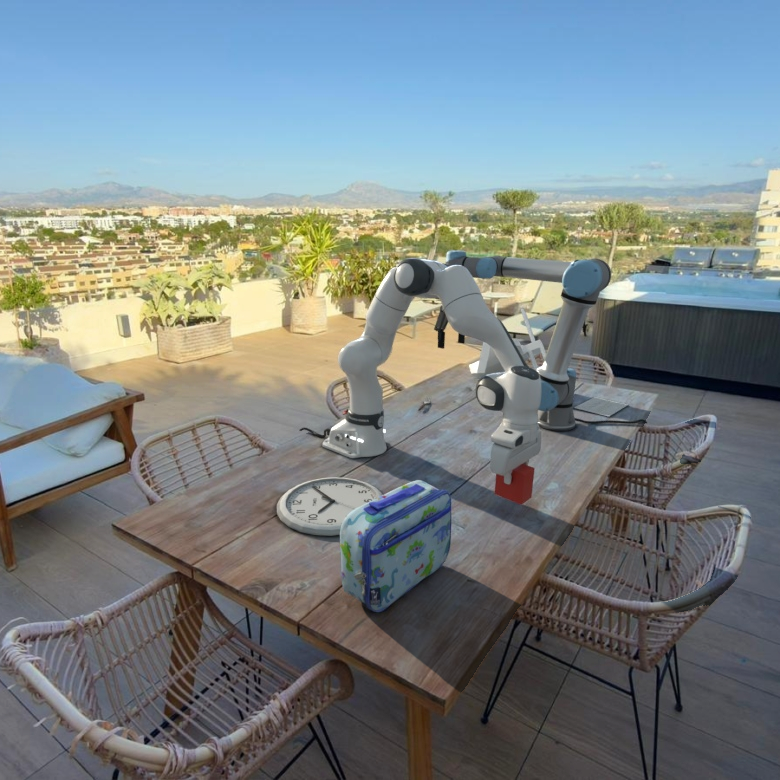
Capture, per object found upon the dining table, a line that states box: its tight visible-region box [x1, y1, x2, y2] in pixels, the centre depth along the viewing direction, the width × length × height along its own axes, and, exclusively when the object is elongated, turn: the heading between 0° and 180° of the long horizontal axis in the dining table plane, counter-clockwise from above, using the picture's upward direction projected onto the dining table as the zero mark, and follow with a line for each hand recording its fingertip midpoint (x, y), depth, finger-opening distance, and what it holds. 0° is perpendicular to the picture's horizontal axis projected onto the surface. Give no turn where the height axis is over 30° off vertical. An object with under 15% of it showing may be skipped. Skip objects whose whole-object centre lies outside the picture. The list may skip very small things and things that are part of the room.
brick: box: [494, 464, 536, 506], centre depth 138 cm, size 5×8×9 cm
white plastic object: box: [468, 307, 547, 380], centre depth 255 cm, size 37×45×31 cm
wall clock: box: [276, 476, 385, 537], centre depth 142 cm, size 30×2×30 cm
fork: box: [418, 396, 432, 411], centre depth 223 cm, size 3×16×2 cm, turn 160°
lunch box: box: [339, 479, 452, 613], centre depth 109 cm, size 26×11×21 cm, turn 134°
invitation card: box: [573, 396, 629, 418], centre depth 226 cm, size 21×1×15 cm
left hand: (514, 478), depth 138 cm, fingers closed on brick, 5 cm apart
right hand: (451, 345), depth 209 cm, fingers open, 13 cm apart
